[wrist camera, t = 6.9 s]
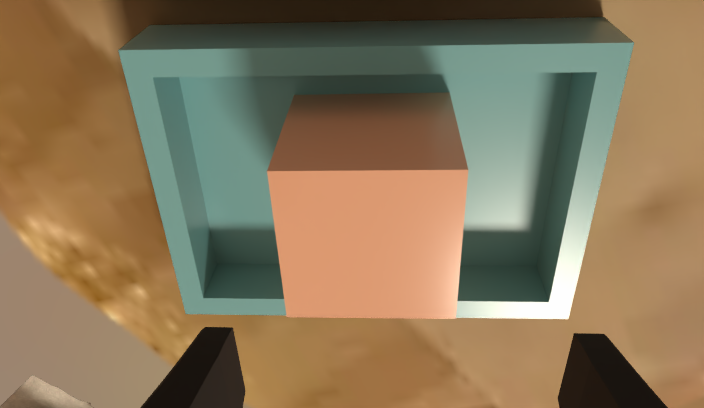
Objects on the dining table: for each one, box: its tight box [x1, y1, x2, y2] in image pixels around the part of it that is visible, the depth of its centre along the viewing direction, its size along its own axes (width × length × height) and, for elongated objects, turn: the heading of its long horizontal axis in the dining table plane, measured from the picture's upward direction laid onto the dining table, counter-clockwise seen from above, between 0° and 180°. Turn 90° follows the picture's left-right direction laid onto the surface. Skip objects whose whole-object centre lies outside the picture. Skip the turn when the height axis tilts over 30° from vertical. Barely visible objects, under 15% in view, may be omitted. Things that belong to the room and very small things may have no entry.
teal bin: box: [118, 17, 634, 319], centre depth 19 cm, size 14×10×2 cm
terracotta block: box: [267, 92, 468, 319], centre depth 18 cm, size 5×5×5 cm
